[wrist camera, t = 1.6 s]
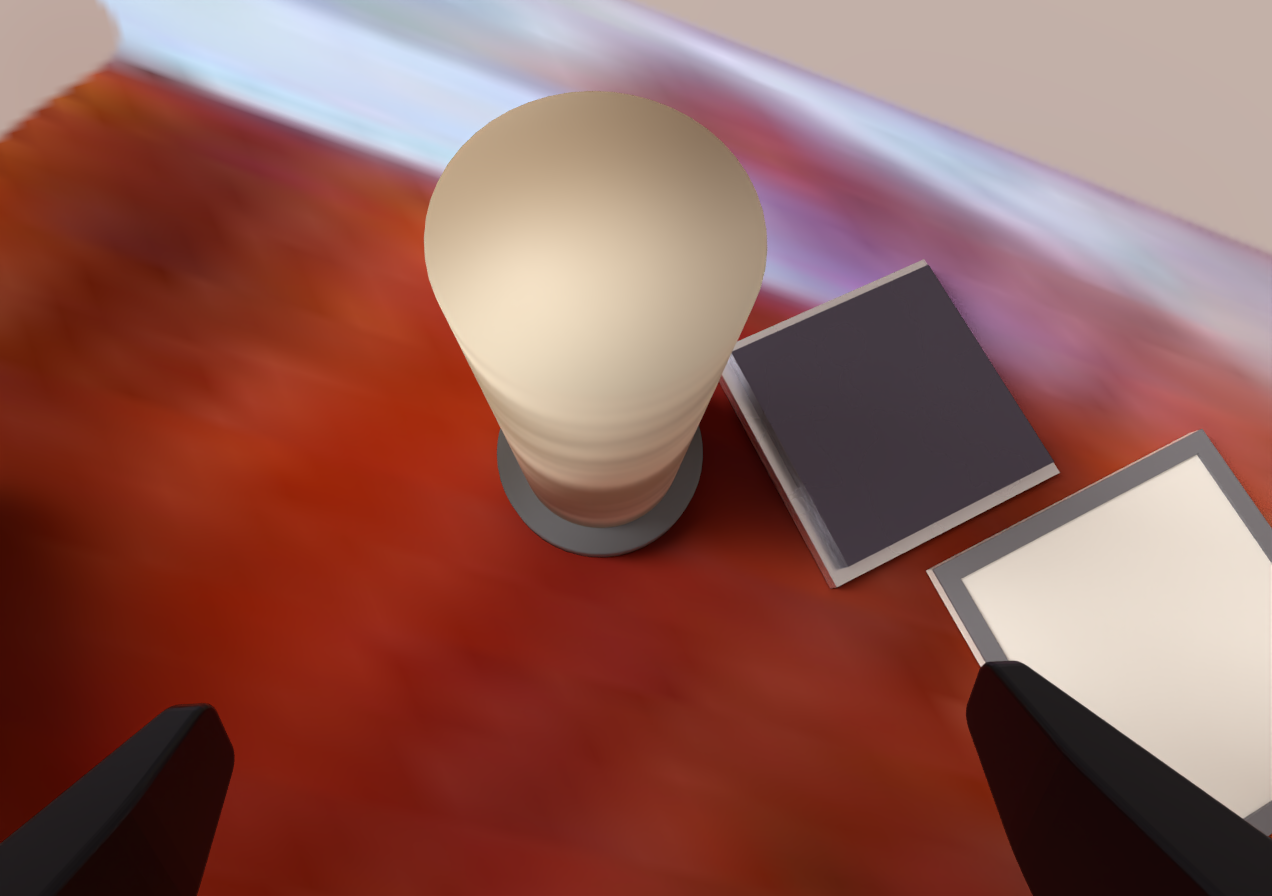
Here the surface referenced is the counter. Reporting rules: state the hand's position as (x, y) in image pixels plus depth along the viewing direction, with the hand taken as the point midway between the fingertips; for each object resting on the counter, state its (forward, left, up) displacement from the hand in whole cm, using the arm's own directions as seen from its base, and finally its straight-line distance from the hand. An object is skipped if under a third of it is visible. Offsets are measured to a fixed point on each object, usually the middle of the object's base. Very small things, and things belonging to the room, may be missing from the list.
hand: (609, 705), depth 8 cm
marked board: (-7, -15, -12) cm, 20 cm away
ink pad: (+3, -11, -12) cm, 17 cm away
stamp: (+5, -2, -12) cm, 14 cm away
